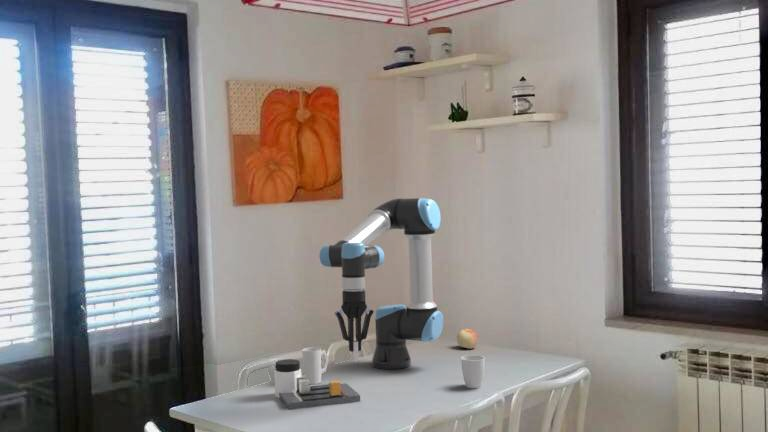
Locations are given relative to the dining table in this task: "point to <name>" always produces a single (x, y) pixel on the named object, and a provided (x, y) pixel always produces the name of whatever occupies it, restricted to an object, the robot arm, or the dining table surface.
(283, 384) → the jar
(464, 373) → the cup
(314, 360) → the mug
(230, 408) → the dining table surface
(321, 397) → the panel
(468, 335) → the apple
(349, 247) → the robot arm
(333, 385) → the handle
